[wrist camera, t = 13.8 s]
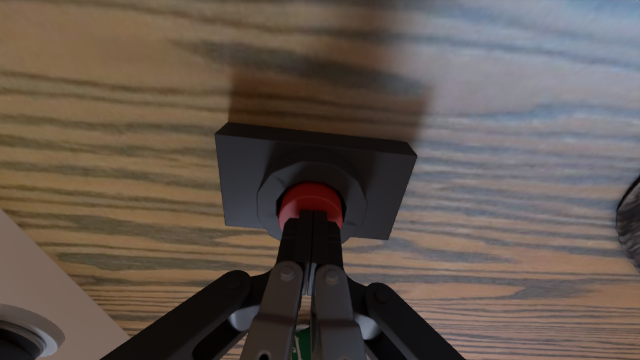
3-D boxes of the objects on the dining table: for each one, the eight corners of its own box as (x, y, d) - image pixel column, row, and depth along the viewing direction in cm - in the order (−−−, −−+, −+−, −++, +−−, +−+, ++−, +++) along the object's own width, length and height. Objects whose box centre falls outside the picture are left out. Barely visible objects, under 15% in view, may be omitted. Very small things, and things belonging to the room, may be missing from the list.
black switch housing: (234, 207, 19) (215, 244, 16) (227, 121, 16) (200, 146, 12) (381, 221, 20) (394, 259, 16) (407, 141, 16) (429, 170, 13)
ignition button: (282, 223, 16) (277, 243, 14) (283, 176, 14) (278, 192, 12) (336, 228, 16) (337, 248, 14) (345, 182, 14) (348, 199, 13)
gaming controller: (260, 312, 30) (266, 367, 28) (246, 323, 26) (252, 387, 25) (333, 301, 29) (343, 359, 27) (329, 311, 25) (340, 378, 23)
